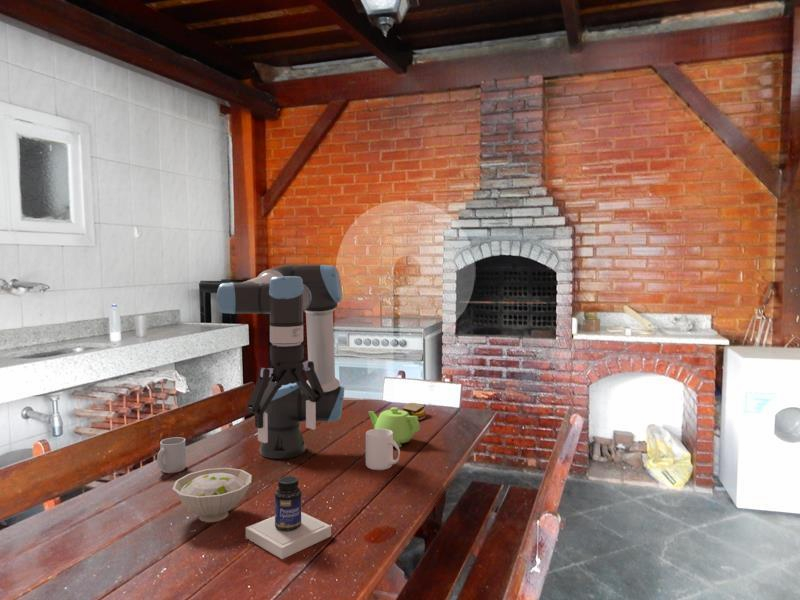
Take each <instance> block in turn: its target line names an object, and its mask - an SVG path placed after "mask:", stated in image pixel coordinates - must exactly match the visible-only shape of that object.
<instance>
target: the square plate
mask: <svg viewBox="0 0 800 600" xmlns="http://www.w3.org/2000/svg"><path fill="white" fill-rule="evenodd" d="M330 537H332V526H331V524H328V523H326V522H324V521H322V520H320V519H318V518H316V517H313V516H311V515H309V514H308V513H305V512H302V511H301V525H300V527H298V528H297V529H295V530H290V531H281V530H278V529H277V528H276V527H275V515H273V516H271V517H269V518H267V519H264V520H261V521H258V522H256V523H253V524H251V525H248V526H246V527H245V539H247V540H248V539H249V541H250V542H251V543H253V542H254V544H255V545H257V546H259V547H261V548H262V549H264V550H265V551H267V552H268V553H270V554H272V555H274V556H275V557H278V558H279V559H281V560H283V559H286V558H288V557H290V556H292V555H294V554H297V553H298V552H300V551H302V550H305V549H307V548H310V547H311V546H313V545H315V544H317V543H320V542H322V541H323V540H326V539H328V538H330Z"/></svg>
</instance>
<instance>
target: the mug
mask: <svg viewBox="0 0 800 600" xmlns="http://www.w3.org/2000/svg"><path fill="white" fill-rule="evenodd" d="M394 447H395V449H396V450H397V454H398V456H397V458H396V459H394V456H393V455H394V454H393V453H394ZM400 455H401V449H400V447H399V446H398V445H397V443H396V442H395V441H394V440H393V432H392V431H391V430H387V429H374V428H373V429H368V430H367V431H365V465H366V467H367V468H368V469H370V470H374V471H384V470H385V471H386V470H388V469H390V468H391V467H393V465H396V464H397V463H398V462H399V461H400V457H401V456H400Z"/></svg>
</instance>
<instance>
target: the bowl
mask: <svg viewBox="0 0 800 600" xmlns="http://www.w3.org/2000/svg"><path fill="white" fill-rule="evenodd" d="M252 476H253V474H250V473H249V472H248V471H246V470H243V469H238V468H232V467H231V468H230V467H219V468H207V469H206V468H205V469H202V470H198V471H194V472H190V473H187V474H185V475H184V476H182V477H180V478H178V479H177V480H175V482H174V484H173V487H172V488H171V489H172V491H173V493H174V494H175V495H176V497H177V499H178V500H179V501H180V502H181V503H182V504H184V506H186V507H187V508H188V509H189V510H190V511H191V512H192V513H194V514H196V515H199V517H198V519H199V520H200V521H202V522H204V521H205V522H204V523H216V522H217V523H218V522H220V521H222V520H224V519H226V518H227V517H228V516H229V511H230V510H231V509H233V508H234V507H236V506H237V505H238V504H239V502H240V501H241V500H242V499H243V498H244V497H245V495H246V494H247V492H248V490H249V488H250V485H251V484H252Z"/></svg>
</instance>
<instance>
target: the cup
mask: <svg viewBox="0 0 800 600" xmlns="http://www.w3.org/2000/svg"><path fill="white" fill-rule="evenodd" d="M159 443H160V450H159V451H158V453H157V456H156V465H157V467H158V469H159V470H160V471H162V473H164V474H165V473H166V474H175V473H180V472H182V471H184V470H185V469H186V466H187V462H186V461H187V458H186V457H187V456H186V452H187V451H186V448H187V447H186V438H184V437H179V436H178V437H177V436H176V437H175V436H174V437H169V438H165V439H164V438H163V439H162V440H161V441H160V442H159Z"/></svg>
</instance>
